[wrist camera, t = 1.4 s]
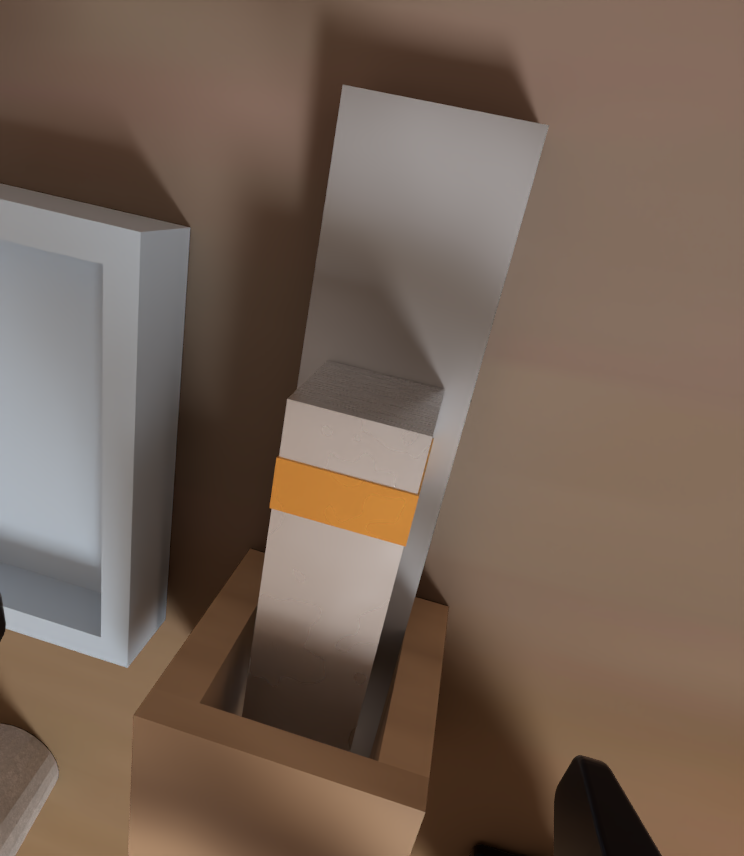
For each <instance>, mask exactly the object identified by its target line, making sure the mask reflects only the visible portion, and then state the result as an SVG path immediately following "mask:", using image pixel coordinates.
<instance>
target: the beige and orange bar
mask: <svg viewBox="0 0 744 856" xmlns="http://www.w3.org/2000/svg"><path fill="white" fill-rule="evenodd" d="M444 392H445V389H441V388H437V387H433V386H429V385H425V384H421V383H417V382H413V381H409V380H405V379H401V378H397V377H393V376H389V375H385V374H381V373H377V372H373V371H369V370H365V369H361V368H357V367H353V366H349V365H346V364H342V363H338V362H334V361H330V360H327V361H326V362H325V363H324V364H322V365H321V366H320V367H319V368H318V369H317V370H316V371H315V372H314V373H313V374H312V375H311V376H310V377H309V378H308V379H307V380H306V381H305V382H304V383H303V384H302V385H301V386H300V387H299V388H298V389H297V390H296V391H295V392H294V393H293V394H292V395H291V396H290V397H289V398H288V399H287V405H286V412H285V419H284V426H283V432H282V439H281V446H280V453H279V455H278V456H277V458H276V465H275V472H274V479H273V486H272V493H271V500H270V507H269V508H271V516H270V523H269V530H268V537H267V544H266V551H265V558H264V565H263V572H262V579H261V586H260V593H259V600H258V607H257V614H256V621H255V628H254V635H253V642H252V649H251V656H250V663H249V670H248V677H247V684H246V691H245V698H244V705H243V712H242V717H244V718H247V719H250V720H253V721H256V722H259V723H262V724H265V725H268V726H272V727H275V728H278V729H281V730H284V731H287V732H290V733H293V734H296V735H299V736H302V737H305V738H308V739H311V740H314V741H318V742H321V743H324V744H327V745H330V746H333V747H336V748H339V749H342V750H345V751H348V752H350V750H351V746H352V742H353V738H354V735H355V731H356V727H357V723H358V719H359V716H360V712H361V708H362V704H363V700H364V697H365V693H366V689H367V685H368V681H369V678H370V674H371V670H372V666H373V662H374V659H375V655H376V651H377V647H378V643H379V639H380V636H381V632H382V628H383V624H384V620H385V617H386V613H387V609H388V605H389V601H390V598H391V594H392V590H393V586H394V582H395V578H396V575H397V571H398V567H399V563H400V559H401V556H402V552H403V548H404V546H405V547H406V544H407V540H408V536H409V532H410V529H411V525H412V521H413V517H414V513H415V510H416V506H417V502H418V498H419V494H420V490H421V487H422V483H423V479H424V475H425V471H426V467H427V463H428V459H429V455H430V452H431V448H432V444H433V440H434V438H432V437H433V434H434V430H435V426H436V422H437V418H438V415H439V411H440V407H441V403H442V399H443V396H444Z"/></svg>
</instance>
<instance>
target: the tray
mask: <svg viewBox="0 0 744 856" xmlns="http://www.w3.org/2000/svg"><path fill="white" fill-rule="evenodd" d="M189 241H190V227H186V226H182V225H178V224H173V223H169V222H165V221H161V220H156V219H152V218H148V217H143V216H139V215H135V214H130V213H126V212H122V211H117V210H113V209H109V208H105V207H100V206H96V205H92V204H87V203H83V202H79V201H74V200H70V199H66V198H62V197H57V196H53V195H49V194H44V193H40V192H36V191H31V190H27V189H23V188H18V187H14V186H10V185H6V184H1V183H0V593H1V596H2V602H3V608H4V614H5V621H6V629H9V630H12V631H15V632H18V633H21V634H24V635H27V636H31V637H34V638H37V639H40V640H43V641H46V642H49V643H52V644H55V645H58V646H61V647H65V648H68V649H71V650H74V651H77V652H80V653H83V654H86V655H89V656H92V657H95V658H99V659H102V660H105V661H108V662H111V663H114V664H117V665H120V666H123V667H126V668H128V667H129V665H130V664H131V663H132V661H133V660H134V659H135V658H136V656H137V655H138V654H139V653H140V651H141V650H142V649H143V647H144V646H145V645H146V644H147V642H148V641H149V640H150V638H151V637H152V636H153V635H154V633H155V632H156V631H157V630H158V628H159V627H160V626H161V624H162V623H163V622H164V621H165V619H166V603H167V587H168V572H169V556H170V540H171V524H172V509H173V493H174V477H175V462H176V446H177V430H178V414H179V399H180V383H181V367H182V352H183V336H184V320H185V304H186V289H187V273H188V257H189Z"/></svg>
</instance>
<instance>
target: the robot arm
mask: <svg viewBox="0 0 744 856" xmlns="http://www.w3.org/2000/svg"><path fill="white" fill-rule="evenodd" d="M5 628H6V621H5V614H4V608H3V602H2V596H1V593H0V641H1V639H2V637H3V635H4V632H5ZM469 856H515V855H512V854H509V853H506V852H503V851H500V850H497V849H494V848H491V847H488V846H485V845H476V846H474V847H473V848H472V851H471V853H470V855H469ZM554 856H662V855H661V854H660V852H659V850H658V849H657V847H656V845H655V843H654V842H653V840H652V838H651V837H650V835H649V833H648V832H647V830H646V828H645V827H644V825H643V823H642V822H641V820H640V818H639V816H638V815H637V813H636V811H635V810H634V808H633V806H632V805H631V803H630V801H629V800H628V798H627V796H626V794H625V793H624V791H623V789H622V788H621V786H620V784H619V783H618V781H617V779H616V778H615V776H614V774H613V772H612V771H611V769H610V768H609V767H608V765H606V764H605V763H604V762H602V761H600V760H596V759H593V758H589V757H586V756H582V755H578V756H576V757H575V758H574V759H573V760H572V762H571V764H570V765H569V767H568V769H567V771H566V772H565V774H564V776H563V777H562V779H561V781H560V782H559V784H558V786H557V789H556V793H555V800H554Z"/></svg>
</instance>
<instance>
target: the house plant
mask: <svg viewBox="0 0 744 856" xmlns="http://www.w3.org/2000/svg"><path fill="white" fill-rule="evenodd" d="M57 779H58V766H57V763H56V760H55V759H54V757H53V755H52V754H51V752H50V751H49V750H48V749H47V748H46V746H45V745H44V744H43V743H42V742H40V741H39V740H38V739H37V738H35V737H34V736H33V735H31V734H29V733H28V732H26V731H24V730H22V729H20V728H17V727H14V726H11V725H6V724H0V856H15V855H16V853H17V851H18V850H19V848H20V846H21V844H22V842H23V841H24V839H25V837H26V835H27V833H28V832H29V830H30V828H31V826H32V824H33V823H34V821H35V819H36V817H37V815H38V814H39V812H40V810H41V808H42V807H43V805H44V803H45V801H46V799H47V798H48V796H49V794H50V792H51V790H52V789H53V787H54V785H55V783H56V781H57Z"/></svg>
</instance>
